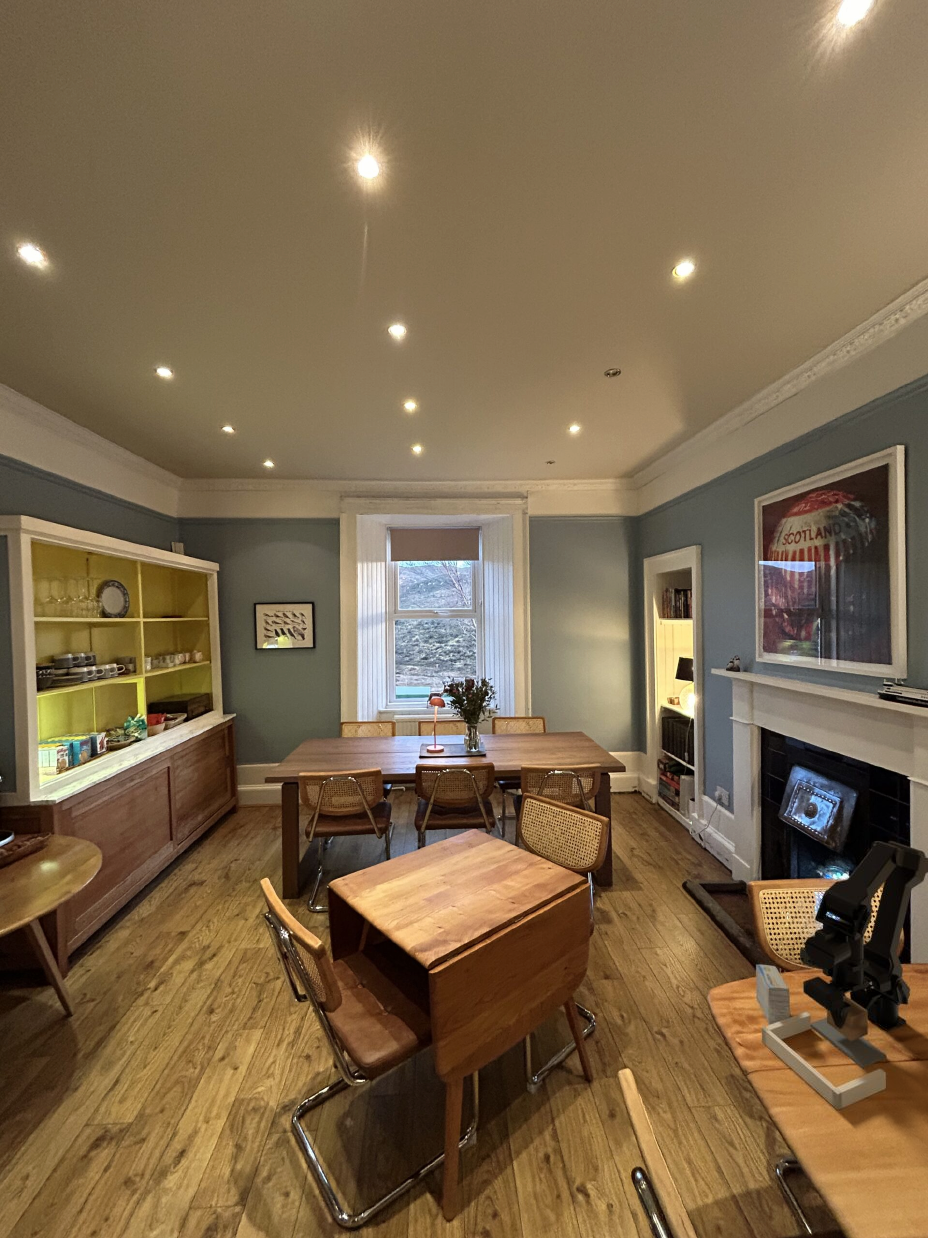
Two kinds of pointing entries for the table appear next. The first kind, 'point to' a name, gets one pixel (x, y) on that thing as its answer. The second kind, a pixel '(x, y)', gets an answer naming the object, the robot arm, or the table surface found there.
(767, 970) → the medicine box
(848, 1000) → the walnut block
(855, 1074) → the table surface
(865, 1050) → the slate coaster
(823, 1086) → the white u-shaped frame
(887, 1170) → the table surface
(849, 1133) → the table surface
